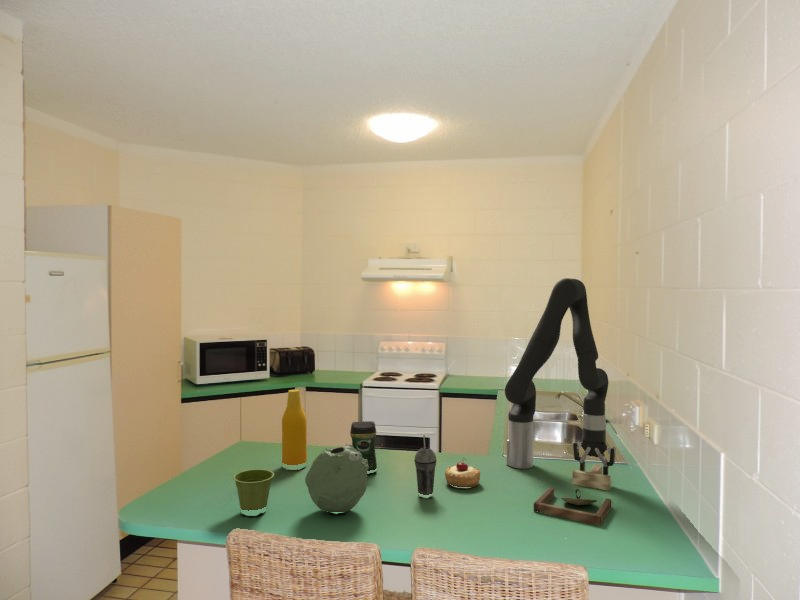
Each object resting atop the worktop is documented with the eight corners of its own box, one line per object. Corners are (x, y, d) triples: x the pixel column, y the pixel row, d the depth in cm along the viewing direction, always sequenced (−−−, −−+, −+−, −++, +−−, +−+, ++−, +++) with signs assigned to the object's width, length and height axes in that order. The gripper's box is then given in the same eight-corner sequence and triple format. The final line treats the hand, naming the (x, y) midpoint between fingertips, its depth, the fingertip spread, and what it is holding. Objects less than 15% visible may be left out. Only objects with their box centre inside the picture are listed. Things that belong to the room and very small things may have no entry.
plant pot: (239, 524, 154) (239, 484, 154) (228, 510, 164) (228, 473, 164) (279, 515, 160) (279, 477, 160) (267, 502, 170) (266, 466, 170)
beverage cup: (440, 493, 177) (440, 432, 177) (431, 501, 170) (431, 438, 170) (419, 490, 180) (419, 430, 180) (410, 498, 173) (410, 435, 173)
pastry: (441, 489, 182) (440, 463, 182) (450, 477, 193) (449, 452, 193) (476, 492, 178) (475, 466, 178) (483, 480, 189) (482, 455, 189)
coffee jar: (376, 468, 203) (376, 418, 203) (377, 475, 195) (377, 424, 195) (350, 469, 202) (350, 419, 202) (350, 476, 194) (349, 424, 194)
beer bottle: (287, 462, 210) (286, 388, 210) (310, 463, 209) (309, 388, 208) (278, 470, 201) (277, 392, 201) (302, 471, 200) (302, 393, 199)
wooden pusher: (572, 484, 186) (572, 471, 186) (581, 474, 196) (581, 462, 196) (609, 490, 179) (609, 477, 179) (616, 480, 189) (616, 467, 189)
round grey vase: (306, 503, 169) (306, 439, 169) (367, 500, 171) (366, 437, 171) (304, 525, 153) (303, 454, 153) (370, 521, 156) (370, 451, 155)
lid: (562, 511, 162) (562, 495, 162) (558, 499, 172) (558, 483, 172) (599, 514, 160) (599, 497, 160) (593, 501, 170) (593, 485, 170)
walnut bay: (533, 511, 162) (533, 503, 162) (549, 495, 175) (549, 487, 175) (599, 525, 152) (599, 517, 152) (611, 507, 165) (611, 499, 165)
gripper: (569, 426, 187) (569, 474, 187) (613, 432, 179) (613, 482, 180) (575, 422, 193) (575, 468, 194) (618, 427, 186) (618, 475, 186)
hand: (594, 474), depth 187 cm, fingers open, 6 cm apart
